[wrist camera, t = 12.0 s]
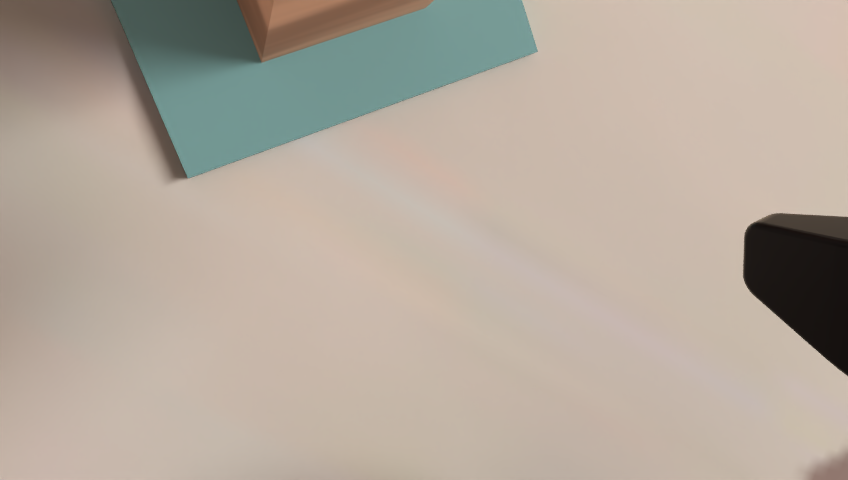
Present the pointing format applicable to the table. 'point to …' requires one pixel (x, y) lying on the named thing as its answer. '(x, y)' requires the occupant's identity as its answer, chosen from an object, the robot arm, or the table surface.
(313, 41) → the terracotta block
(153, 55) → the teal mat
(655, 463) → the table surface
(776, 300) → the robot arm
